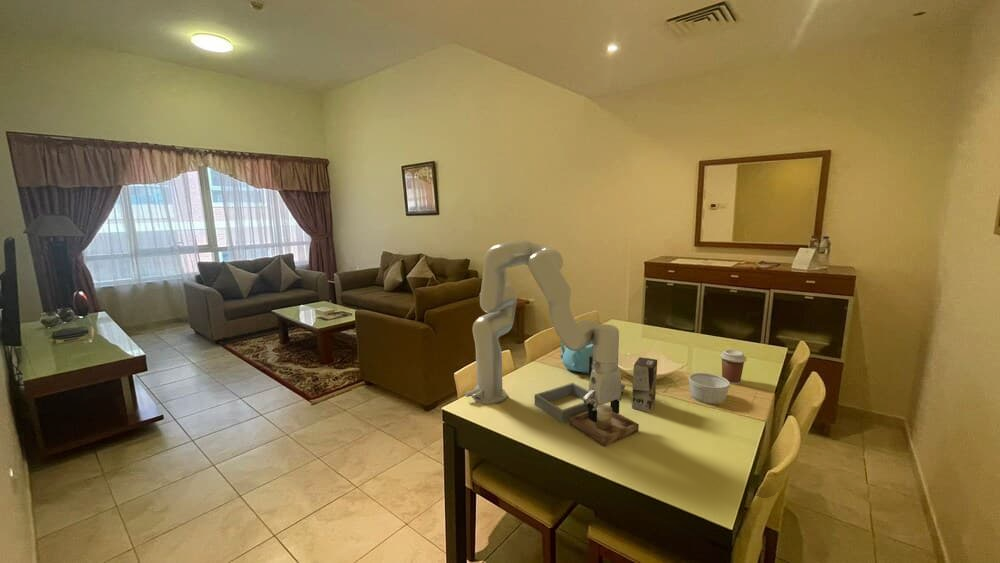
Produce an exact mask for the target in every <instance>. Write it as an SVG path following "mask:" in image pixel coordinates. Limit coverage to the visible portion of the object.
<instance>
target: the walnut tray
mask: <svg viewBox="0 0 1000 563" xmlns="http://www.w3.org/2000/svg"><path fill="white" fill-rule="evenodd" d="M569 425H570V426H571V427H573V429H575V430H577V431H579V432H580V433H582V434H583V435H585V436H586V437H588V438H590V439H592V440H593V441H594V442H596V443H597V444H599V445H600V446H602V447H604V448H605V447H608V446H610V445H611V444H612V445H613V443H616V442H619V441H620V440H623V439H625V438H627V437H630V436H632V435H634V434H637V433H639V431H640V430H639V428H640V424H639V423H637V422H635V421H634V420H631V419H630V418H628V417H626V416H624V415H623V414H620V412H619V413H618V414H617V413H615V412H613V411H612V427H611V429H609V430H602V429H599V428H597V427H596V425H595V422H593V421H591V420H590V419H589V418H588V411H586V412H583V413H581V414H578V415H575V416H573V417H570V421H569Z"/></svg>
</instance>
